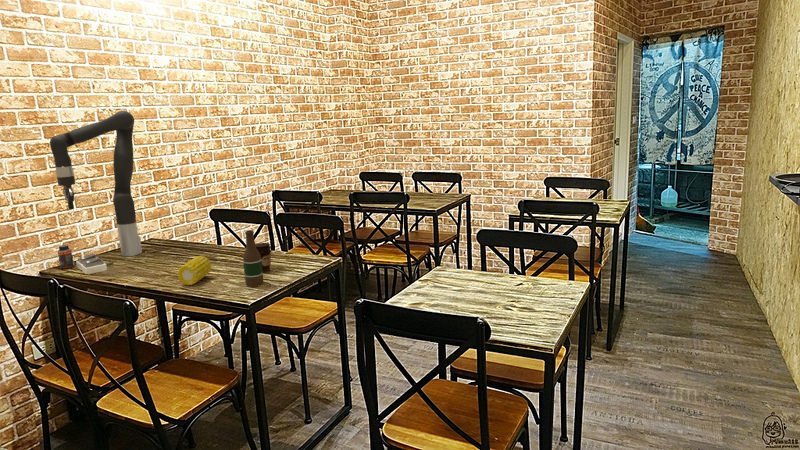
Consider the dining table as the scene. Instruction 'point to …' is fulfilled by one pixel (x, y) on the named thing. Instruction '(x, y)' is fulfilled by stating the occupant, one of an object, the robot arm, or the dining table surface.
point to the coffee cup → (264, 255)
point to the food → (194, 270)
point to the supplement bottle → (65, 257)
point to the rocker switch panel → (92, 266)
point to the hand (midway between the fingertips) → (71, 209)
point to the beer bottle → (252, 262)
